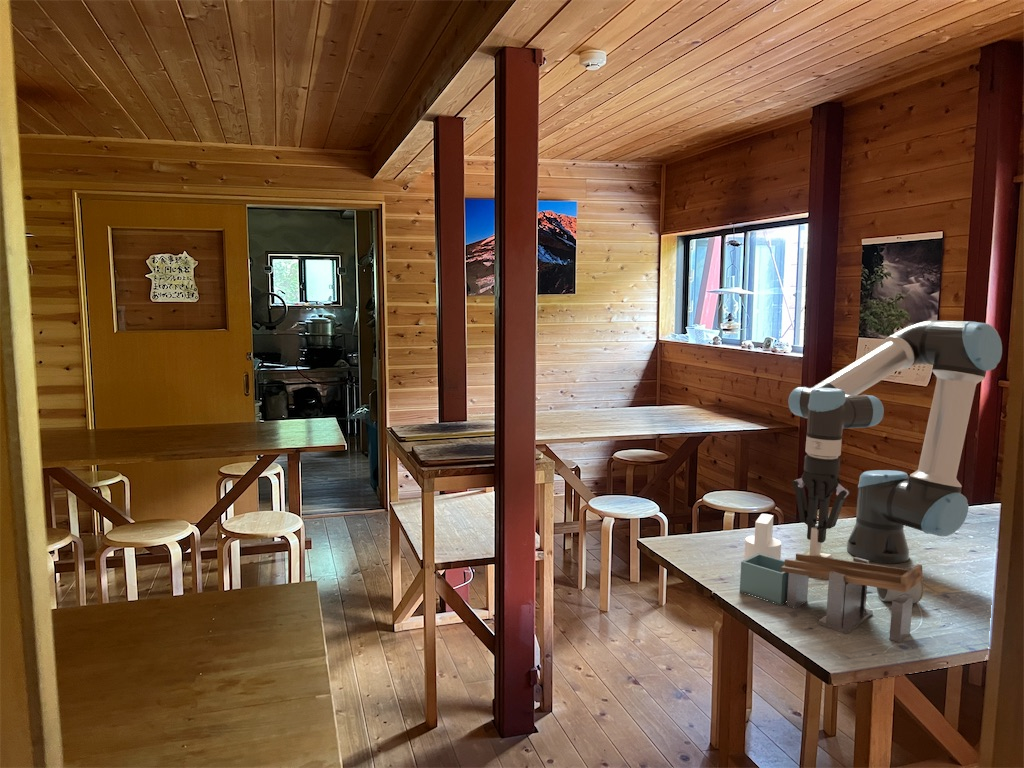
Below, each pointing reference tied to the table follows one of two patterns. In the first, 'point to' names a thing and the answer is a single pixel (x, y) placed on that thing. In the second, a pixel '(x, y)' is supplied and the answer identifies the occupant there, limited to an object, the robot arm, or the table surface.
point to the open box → (764, 578)
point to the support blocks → (850, 604)
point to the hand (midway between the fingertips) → (814, 554)
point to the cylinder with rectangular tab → (763, 539)
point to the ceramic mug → (892, 594)
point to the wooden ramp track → (855, 571)
